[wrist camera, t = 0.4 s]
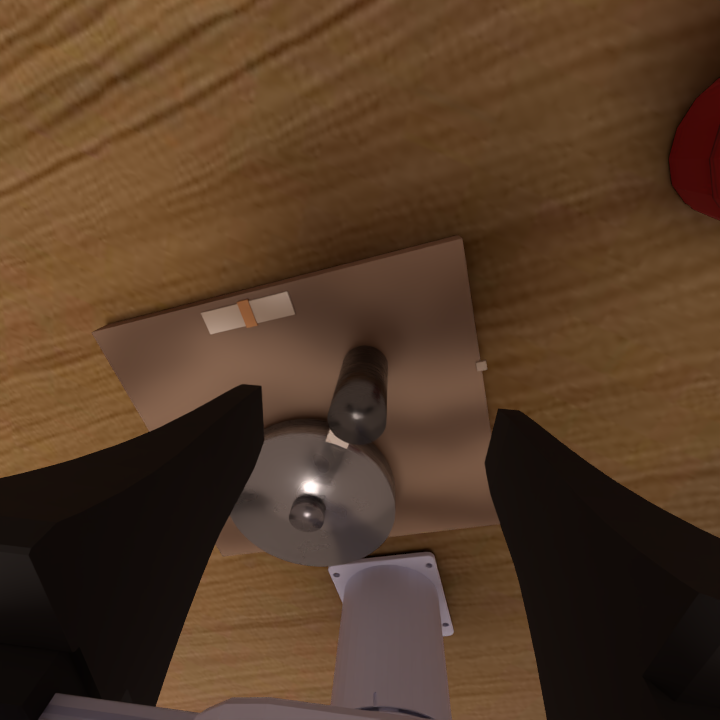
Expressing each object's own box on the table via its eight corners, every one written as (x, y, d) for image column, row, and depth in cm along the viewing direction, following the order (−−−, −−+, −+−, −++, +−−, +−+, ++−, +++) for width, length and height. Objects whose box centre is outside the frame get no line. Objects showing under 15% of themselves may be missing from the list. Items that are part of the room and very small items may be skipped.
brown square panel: (503, 508, 25) (509, 525, 24) (229, 542, 29) (221, 558, 27) (463, 233, 18) (468, 237, 17) (106, 325, 22) (88, 333, 20)
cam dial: (362, 559, 26) (355, 637, 22) (222, 514, 25) (185, 586, 21) (463, 380, 20) (483, 439, 15) (280, 312, 19) (244, 352, 14)
